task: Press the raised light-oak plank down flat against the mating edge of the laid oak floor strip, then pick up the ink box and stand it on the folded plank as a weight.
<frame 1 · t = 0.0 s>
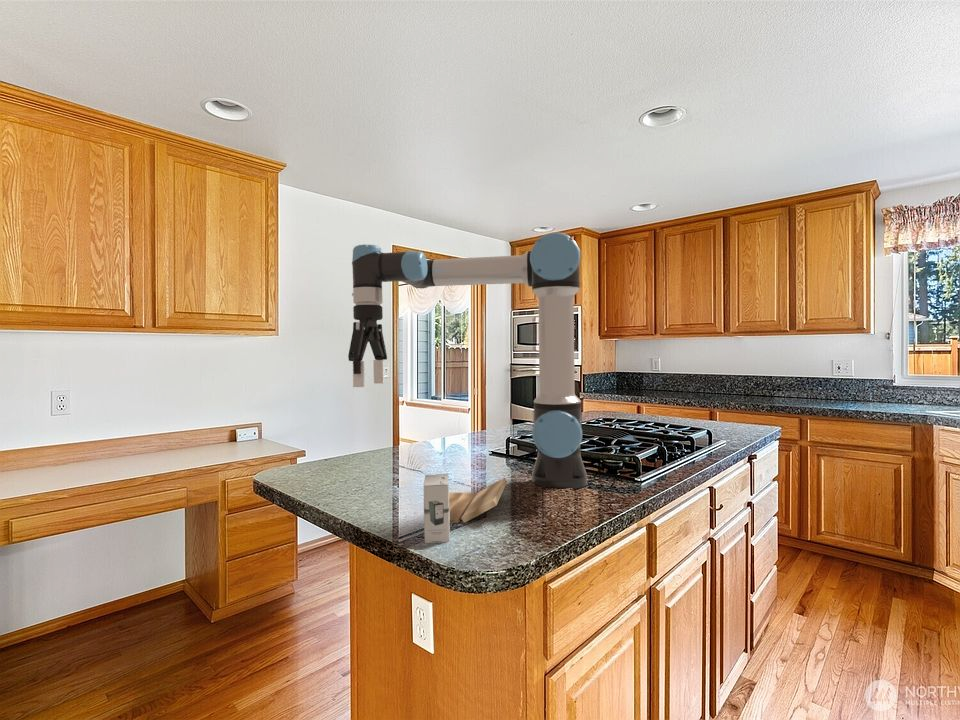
hand: (369, 385, 133), 28 cm above the counter, fingers open, 13 cm apart
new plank: (485, 498, 114), point 3 cm above the counter, hinge at 30.0°
ink box: (437, 538, 99), on the counter
floor strip: (454, 510, 116), on the counter
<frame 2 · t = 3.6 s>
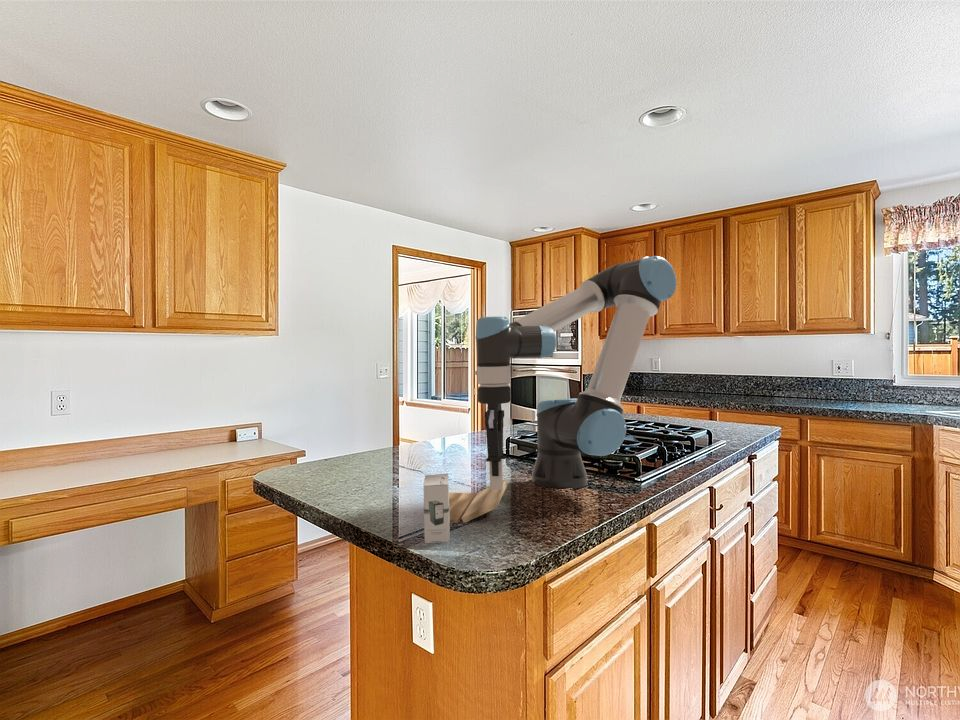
hand: (496, 489, 114), 5 cm above the counter, fingers closed
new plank: (486, 499, 114), point 3 cm above the counter, hinge at 26.9°, touching gripper
everything else where it was.
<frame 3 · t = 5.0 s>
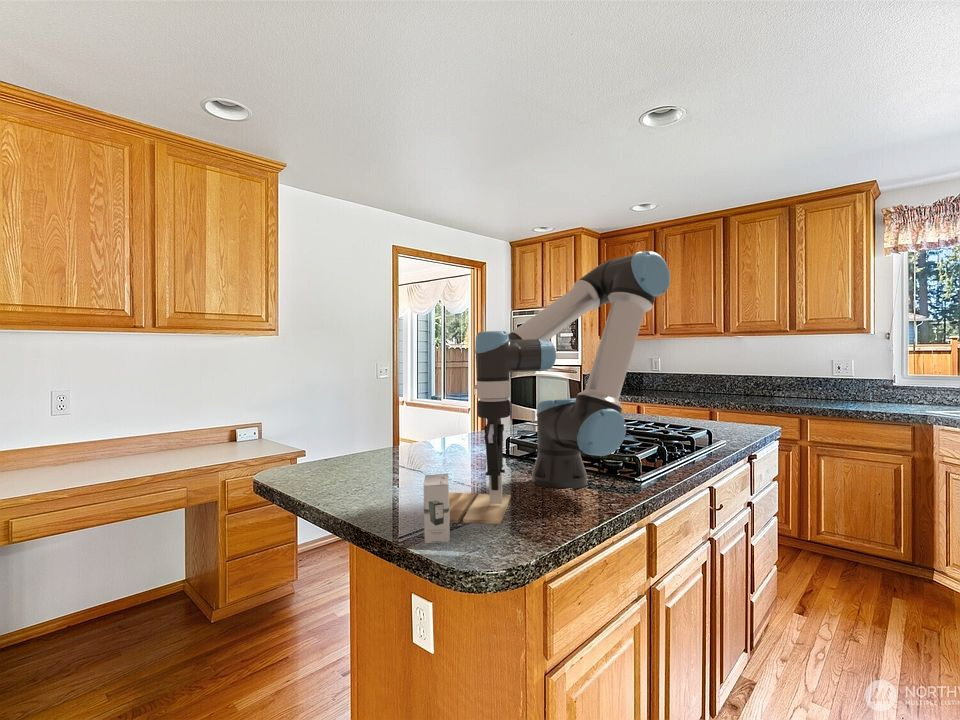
hand: (496, 502, 114), 2 cm above the counter, fingers closed
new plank: (488, 508, 114), point 1 cm above the counter, hinge at -0.1°
everything else where it was.
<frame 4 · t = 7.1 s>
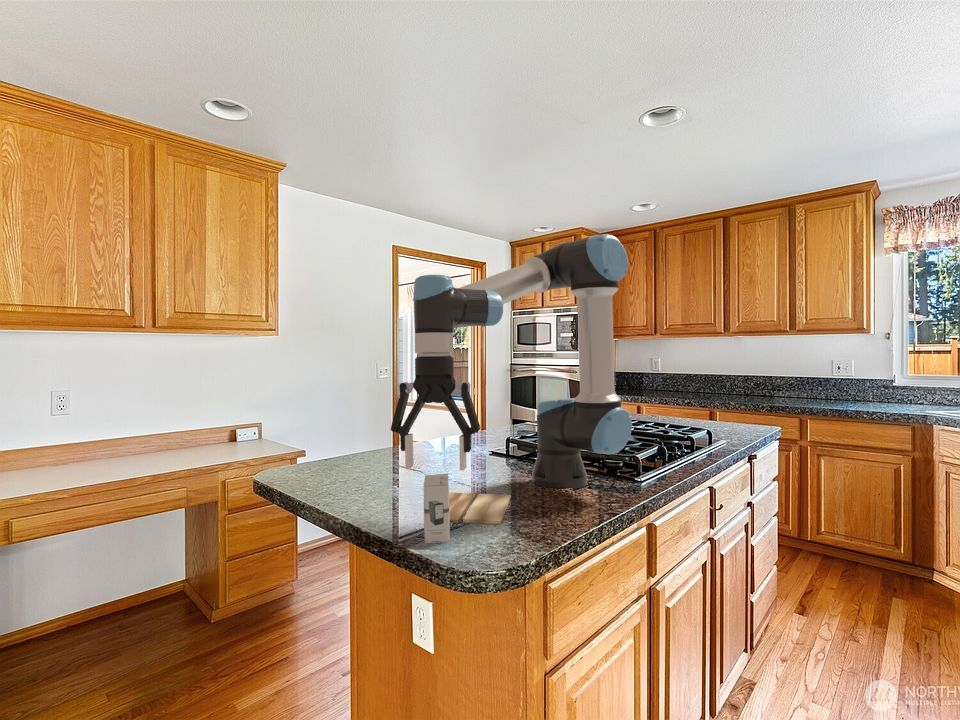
hand: (436, 468, 99), 14 cm above the counter, fingers open, 10 cm apart
nothing on the counter moved.
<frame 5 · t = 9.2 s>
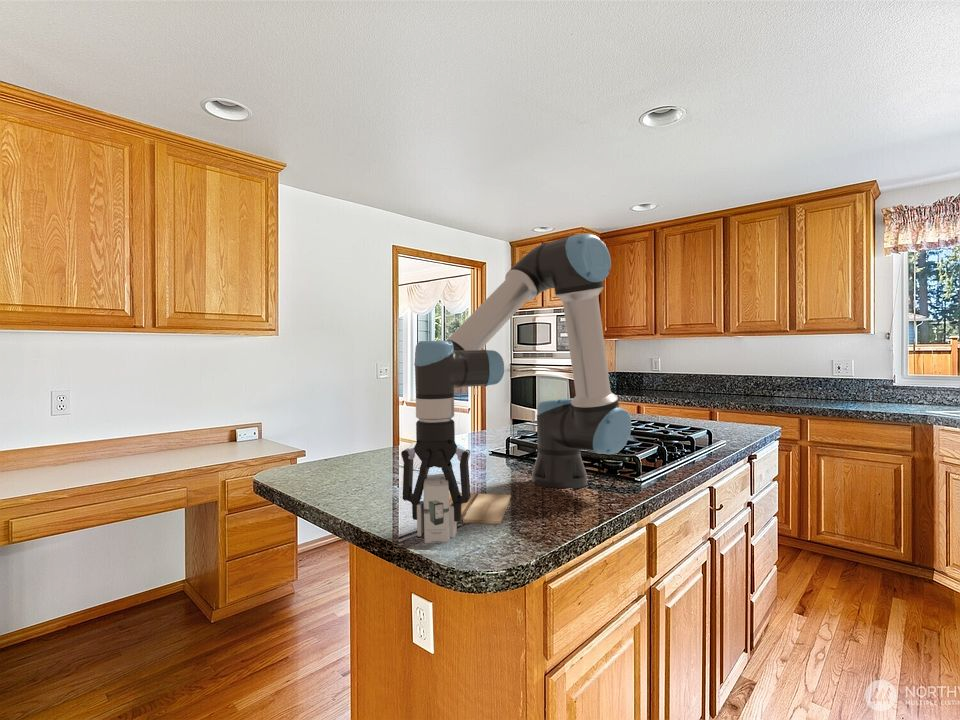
hand: (437, 536, 99), 0 cm above the counter, fingers closed on ink box, 6 cm apart
ink box: (437, 538, 99), on the counter, touching gripper
everything else where it was.
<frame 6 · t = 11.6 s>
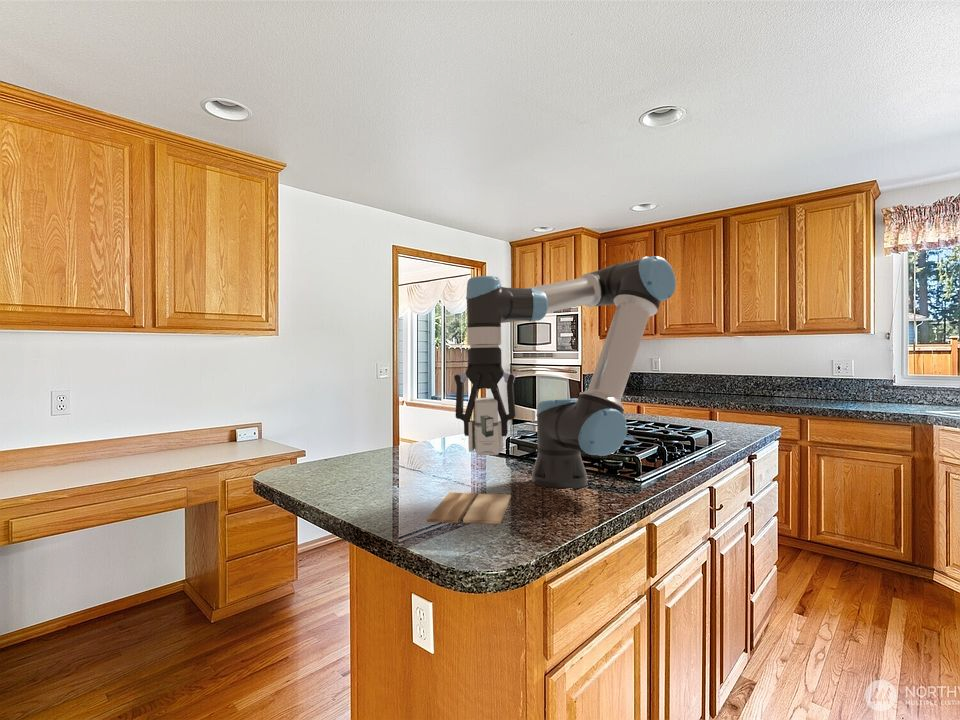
hand: (486, 450, 112), 14 cm above the counter, fingers closed on ink box, 6 cm apart
ink box: (486, 452, 112), point 14 cm above the counter, touching gripper
everything else where it was.
when the fingers open (3 cm above the counter, at t = 13.9 s): ink box drops 1 cm, resting on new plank.
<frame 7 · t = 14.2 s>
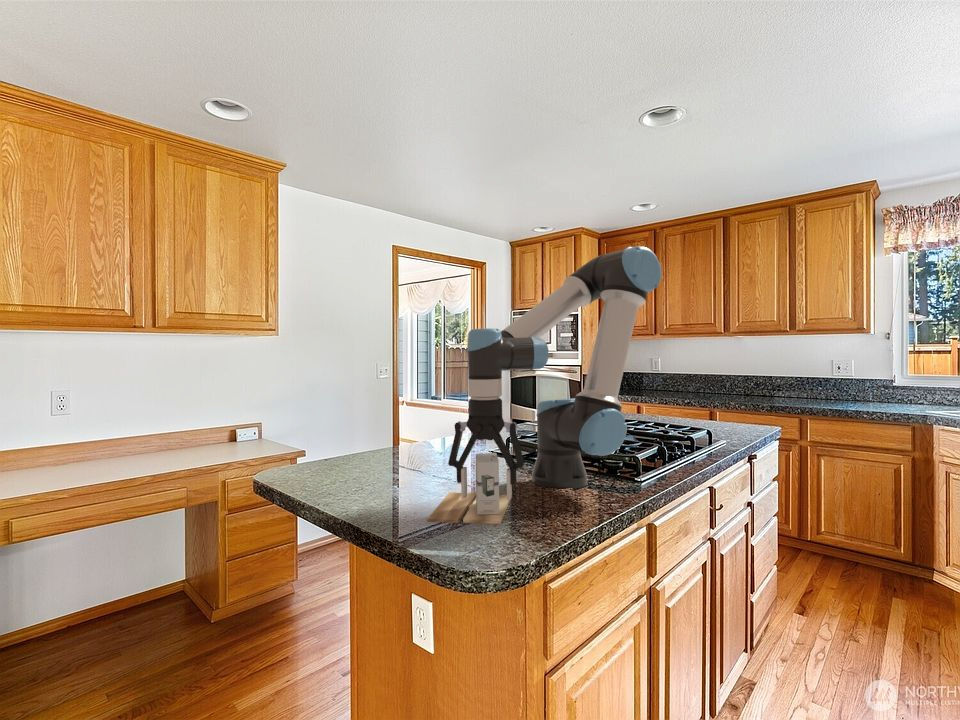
hand: (486, 497, 112), 4 cm above the counter, fingers open, 9 cm apart
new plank: (488, 508, 114), point 1 cm above the counter, hinge at -0.5°, touching ink box
ink box: (487, 509, 112), point 1 cm above the counter, touching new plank
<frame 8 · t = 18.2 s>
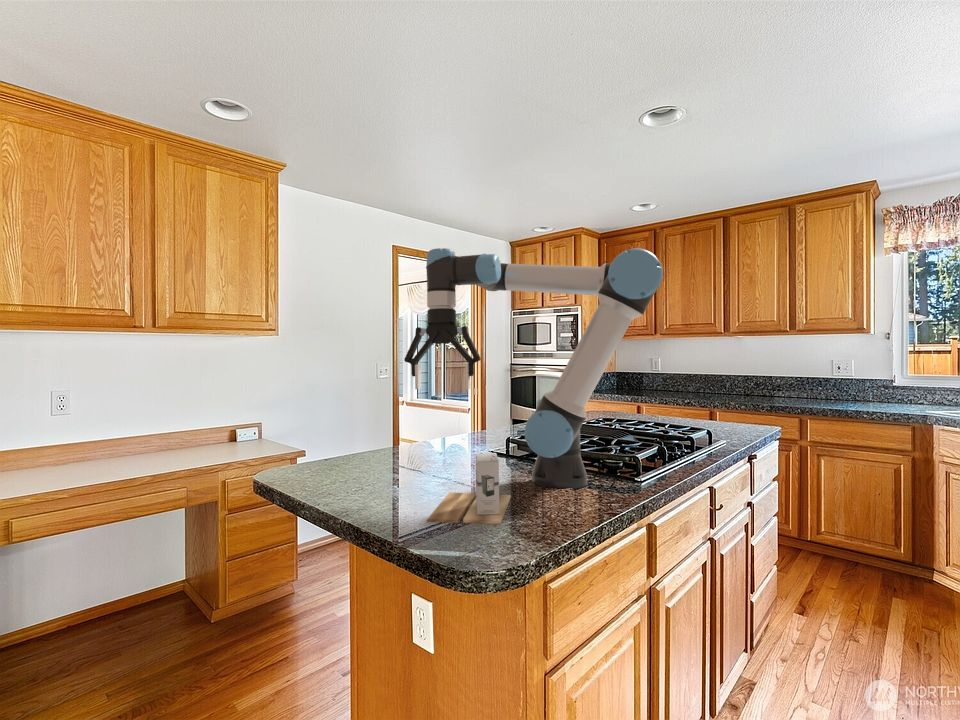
hand: (442, 389, 133), 27 cm above the counter, fingers open, 13 cm apart
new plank: (488, 508, 114), point 1 cm above the counter, hinge at -0.7°, touching ink box
everything else where it was.
at the end: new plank at -1° (first picture: +30°); ink box inside the target area (2.0 cm from its centre), point 1.1 cm above the counter; ink box tilted 1° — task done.
